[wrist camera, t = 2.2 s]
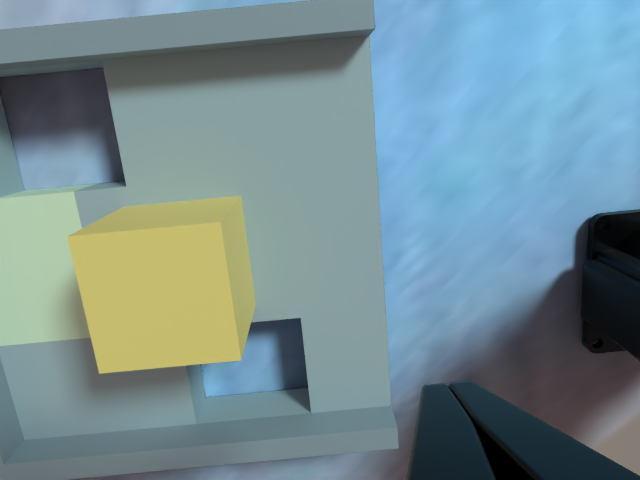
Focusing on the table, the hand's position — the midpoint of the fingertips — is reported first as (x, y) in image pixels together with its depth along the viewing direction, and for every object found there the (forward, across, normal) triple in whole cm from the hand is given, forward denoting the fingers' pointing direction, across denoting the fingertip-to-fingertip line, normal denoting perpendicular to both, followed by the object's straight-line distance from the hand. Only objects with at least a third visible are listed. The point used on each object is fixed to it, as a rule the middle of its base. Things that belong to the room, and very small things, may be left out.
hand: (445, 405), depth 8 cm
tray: (+13, +8, 0) cm, 15 cm away
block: (+11, +7, 0) cm, 13 cm away
